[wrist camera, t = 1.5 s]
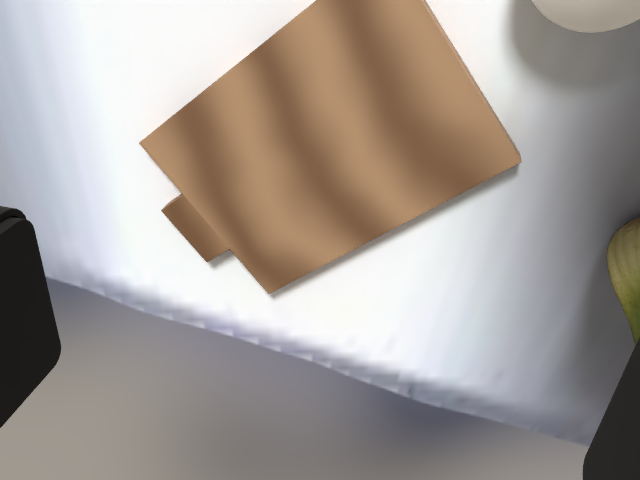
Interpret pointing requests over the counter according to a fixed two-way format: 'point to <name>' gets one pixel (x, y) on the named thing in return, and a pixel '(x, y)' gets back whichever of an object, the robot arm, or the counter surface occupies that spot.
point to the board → (328, 139)
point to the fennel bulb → (627, 271)
